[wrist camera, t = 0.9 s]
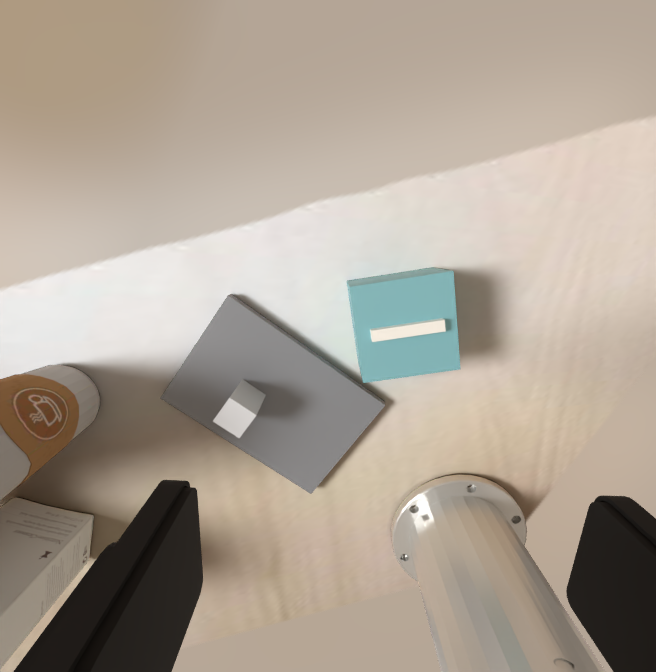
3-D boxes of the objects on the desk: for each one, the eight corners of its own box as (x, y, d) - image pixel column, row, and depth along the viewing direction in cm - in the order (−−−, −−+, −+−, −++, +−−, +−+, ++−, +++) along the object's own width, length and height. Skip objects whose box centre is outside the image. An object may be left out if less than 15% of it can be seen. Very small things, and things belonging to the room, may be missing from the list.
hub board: (383, 400, 31) (392, 427, 26) (311, 486, 33) (308, 525, 28) (231, 294, 29) (211, 302, 24) (165, 393, 31) (136, 418, 26)
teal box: (432, 267, 28) (456, 271, 23) (439, 349, 30) (463, 372, 24) (346, 280, 28) (349, 287, 23) (358, 361, 30) (363, 386, 25)
